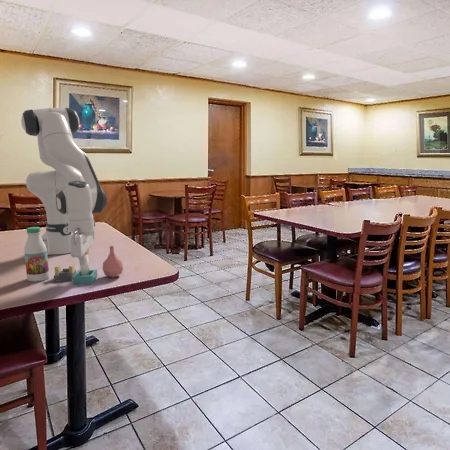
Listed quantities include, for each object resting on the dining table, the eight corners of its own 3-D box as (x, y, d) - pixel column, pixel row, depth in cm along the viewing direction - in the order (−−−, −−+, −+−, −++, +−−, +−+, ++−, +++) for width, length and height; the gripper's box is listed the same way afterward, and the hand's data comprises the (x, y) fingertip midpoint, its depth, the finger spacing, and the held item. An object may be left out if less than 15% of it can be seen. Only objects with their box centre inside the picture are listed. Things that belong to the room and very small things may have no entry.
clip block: (54, 281, 146) (52, 268, 145) (59, 275, 152) (58, 263, 151) (71, 280, 147) (70, 267, 146) (76, 275, 153) (75, 262, 152)
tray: (73, 284, 142) (72, 276, 141) (78, 277, 150) (78, 270, 149) (92, 283, 143) (92, 276, 142) (97, 277, 151) (96, 269, 150)
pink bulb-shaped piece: (124, 272, 156) (123, 243, 153) (122, 279, 148) (120, 248, 146) (104, 273, 154) (102, 244, 152) (101, 280, 147) (99, 249, 145)
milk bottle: (24, 278, 149) (18, 227, 145) (45, 274, 154) (40, 224, 151) (31, 283, 144) (25, 230, 140) (52, 278, 149) (47, 227, 145)
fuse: (79, 276, 146) (77, 251, 144) (86, 274, 148) (84, 250, 146) (83, 277, 144) (81, 253, 142) (90, 275, 146) (89, 251, 144)
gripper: (83, 231, 133) (86, 270, 135) (96, 221, 153) (98, 255, 155) (64, 232, 132) (67, 271, 134) (79, 221, 152) (82, 255, 154)
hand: (84, 262), depth 145 cm, fingers closed on fuse, 3 cm apart
